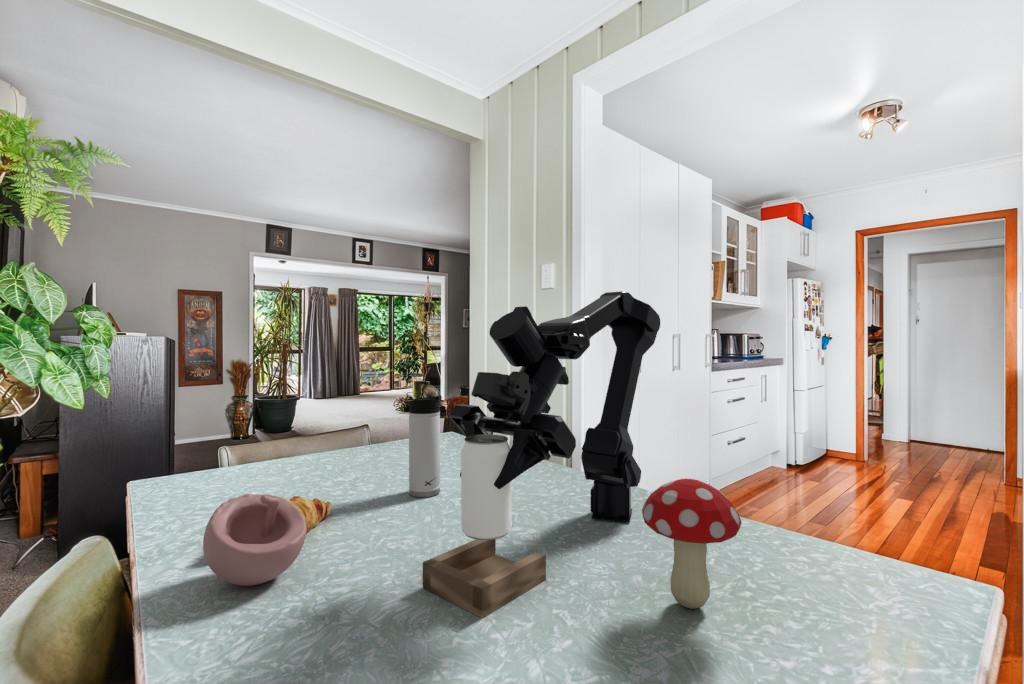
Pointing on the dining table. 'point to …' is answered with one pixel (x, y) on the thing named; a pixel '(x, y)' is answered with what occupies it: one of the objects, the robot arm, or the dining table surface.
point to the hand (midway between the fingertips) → (478, 482)
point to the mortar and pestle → (253, 538)
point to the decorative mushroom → (691, 532)
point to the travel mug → (424, 446)
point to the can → (484, 488)
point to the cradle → (481, 576)
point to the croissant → (311, 510)
